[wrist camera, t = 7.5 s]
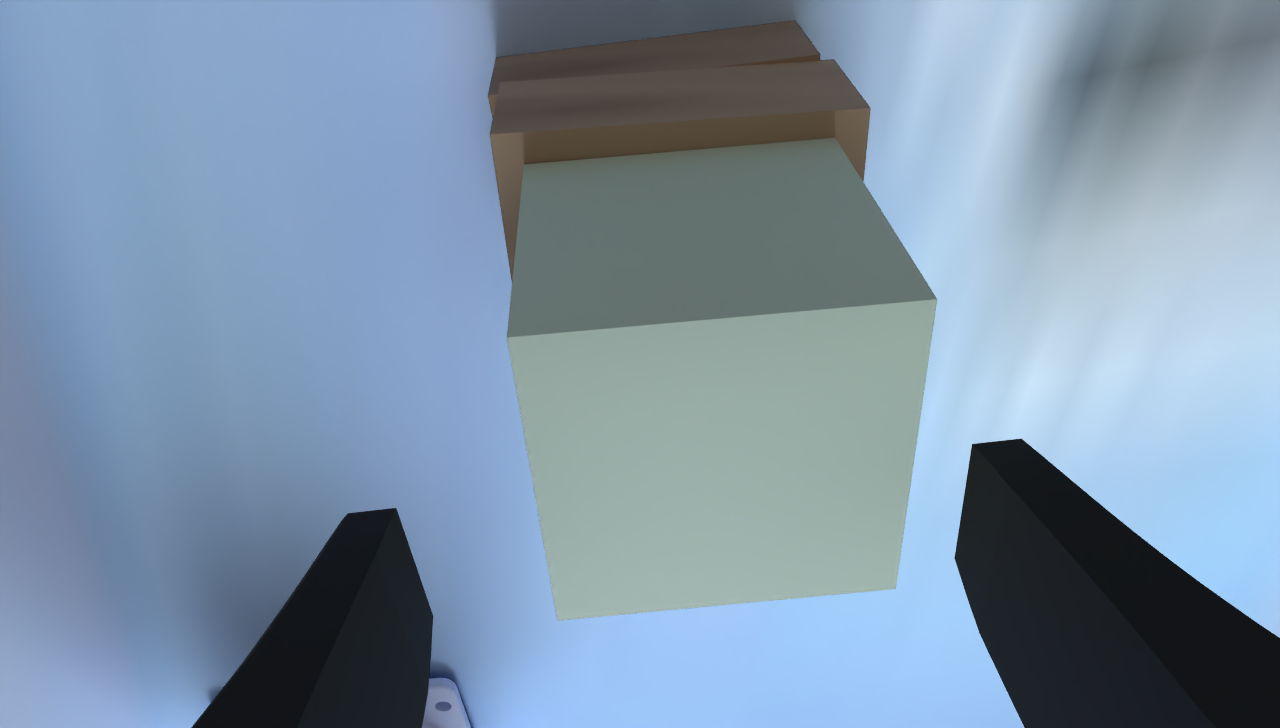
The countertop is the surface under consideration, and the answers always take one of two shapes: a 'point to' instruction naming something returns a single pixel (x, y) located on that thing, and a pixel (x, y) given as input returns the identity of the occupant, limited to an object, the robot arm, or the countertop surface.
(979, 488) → the robot arm
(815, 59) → the block
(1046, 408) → the countertop surface
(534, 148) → the tower top
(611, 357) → the cube
